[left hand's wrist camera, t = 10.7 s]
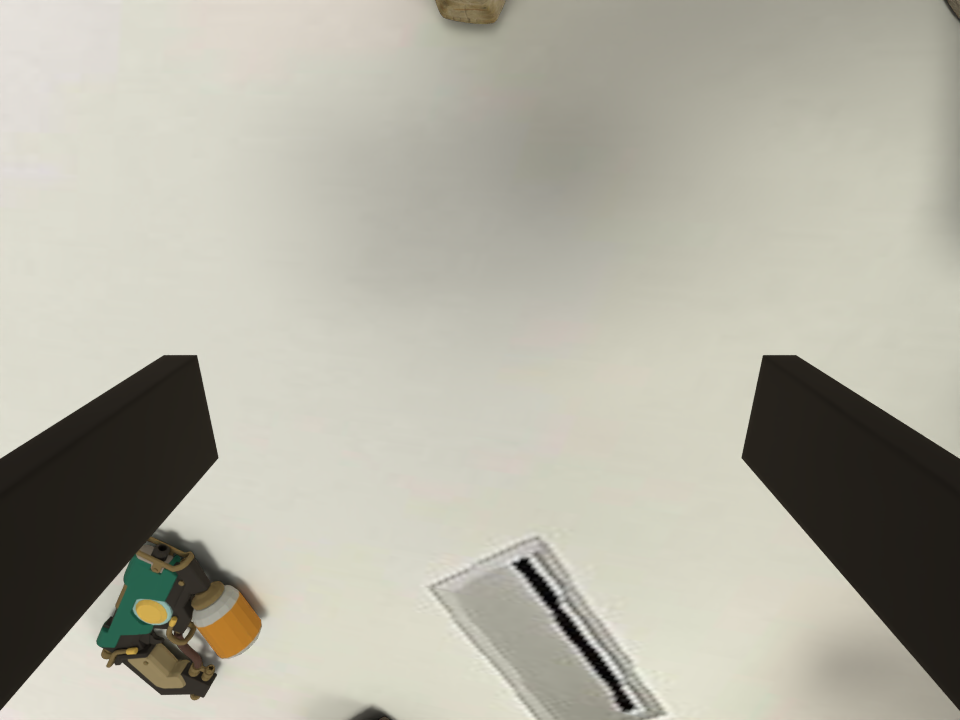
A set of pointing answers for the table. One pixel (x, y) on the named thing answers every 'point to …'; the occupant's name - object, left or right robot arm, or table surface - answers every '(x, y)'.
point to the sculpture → (471, 10)
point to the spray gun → (175, 621)
